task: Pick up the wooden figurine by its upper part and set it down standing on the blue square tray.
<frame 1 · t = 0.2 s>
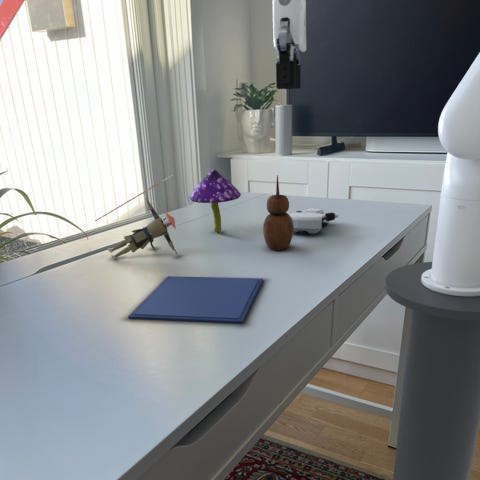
hand: (289, 88, 87), 31 cm above the table, tool pointing down, fingers open, 9 cm apart
wooden figurine: (278, 249, 103), on the table
robot toy: (308, 230, 116), on the table
decorative mushroom: (217, 233, 118), on the table
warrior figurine: (140, 254, 105), on the table
blue square tray: (200, 298, 80), on the table
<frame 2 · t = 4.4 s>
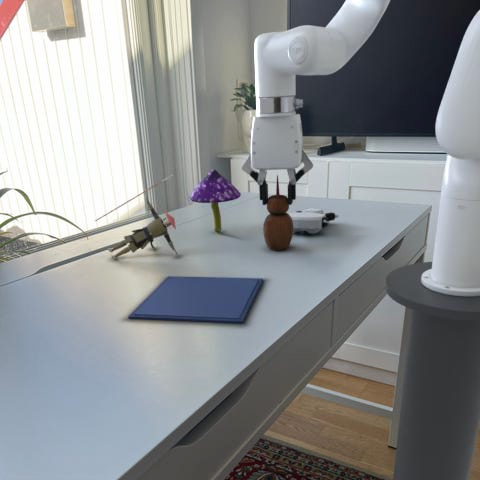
hand: (277, 202, 99), 10 cm above the table, tool pointing down, fingers closed on wooden figurine, 4 cm apart
wooden figurine: (278, 249, 103), on the table, touching gripper
everything else where it was.
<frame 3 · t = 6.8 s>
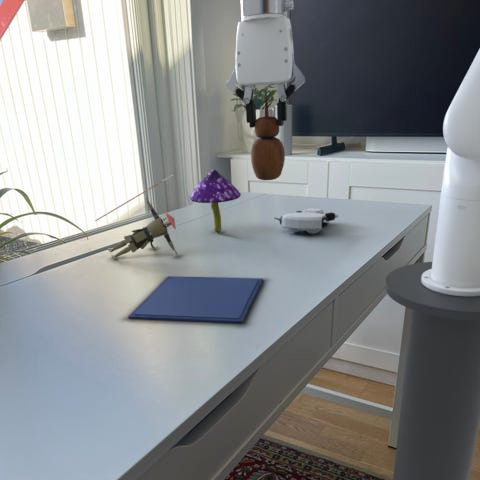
hand: (266, 125, 89), 25 cm above the table, tool pointing down, fingers closed on wooden figurine, 4 cm apart
wooden figurine: (268, 180, 93), point 15 cm above the table, touching gripper
everything else where it was.
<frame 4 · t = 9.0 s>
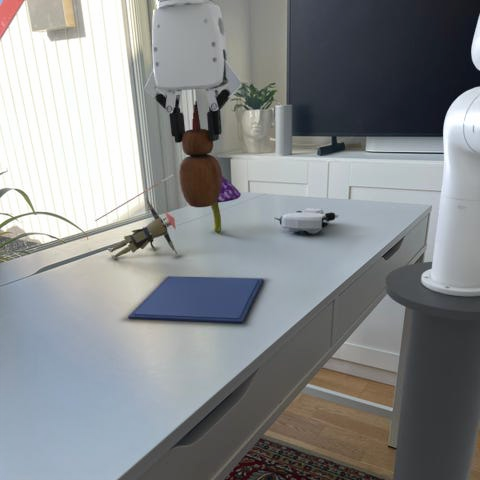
hand: (197, 139, 71), 25 cm above the table, tool pointing down, fingers closed on wooden figurine, 4 cm apart
wooden figurine: (203, 206, 76), point 15 cm above the table, touching gripper
everything else where it was.
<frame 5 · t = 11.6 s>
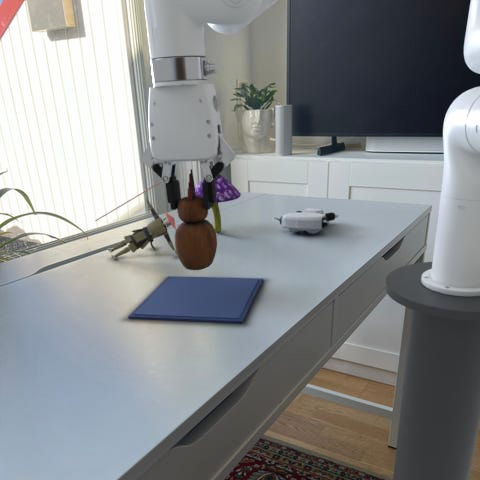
hand: (192, 206, 73), 15 cm above the table, tool pointing down, fingers closed on wooden figurine, 4 cm apart
wooden figurine: (198, 268, 77), point 5 cm above the table, touching gripper
everything else where it was.
when the fingers open (10 cm above the table, at t = 13.4 s): wooden figurine stays where it is, resting on blue square tray.
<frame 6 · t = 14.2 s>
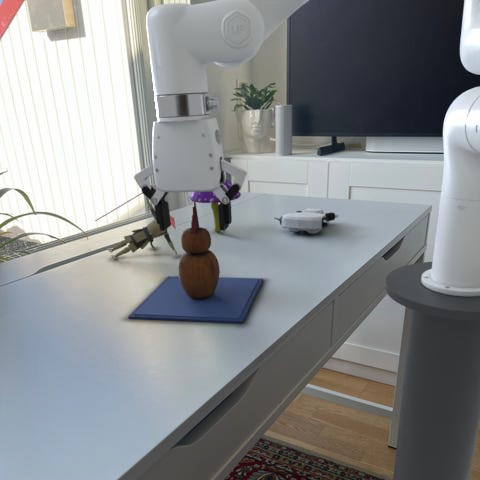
hand: (194, 228, 75), 12 cm above the table, tool pointing down, fingers open, 9 cm apart
wooden figurine: (201, 296, 79), resting on blue square tray
everything else where it was.
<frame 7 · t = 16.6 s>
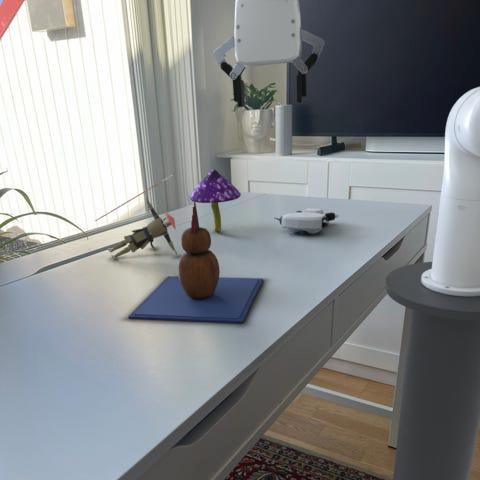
hand: (270, 104, 78), 29 cm above the table, tool pointing down, fingers open, 9 cm apart
nothing on the table moved.
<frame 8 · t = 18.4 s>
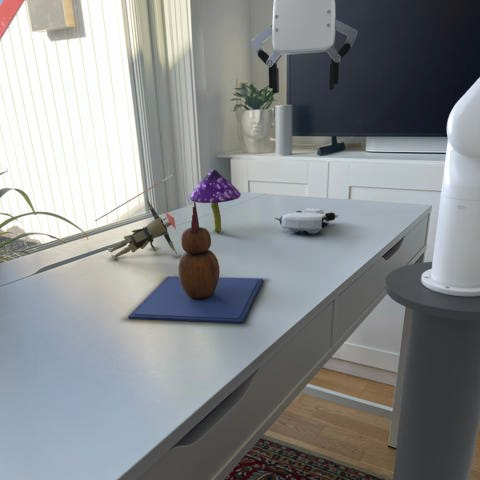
hand: (303, 91, 82), 30 cm above the table, tool pointing down, fingers open, 9 cm apart
nothing on the table moved.
at the end: wooden figurine inside the target area on the blue square tray (0.1 cm from its centre), point 0.3 cm above the blue square tray's base; wooden figurine tilted 0°; the gripper is holding nothing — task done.
